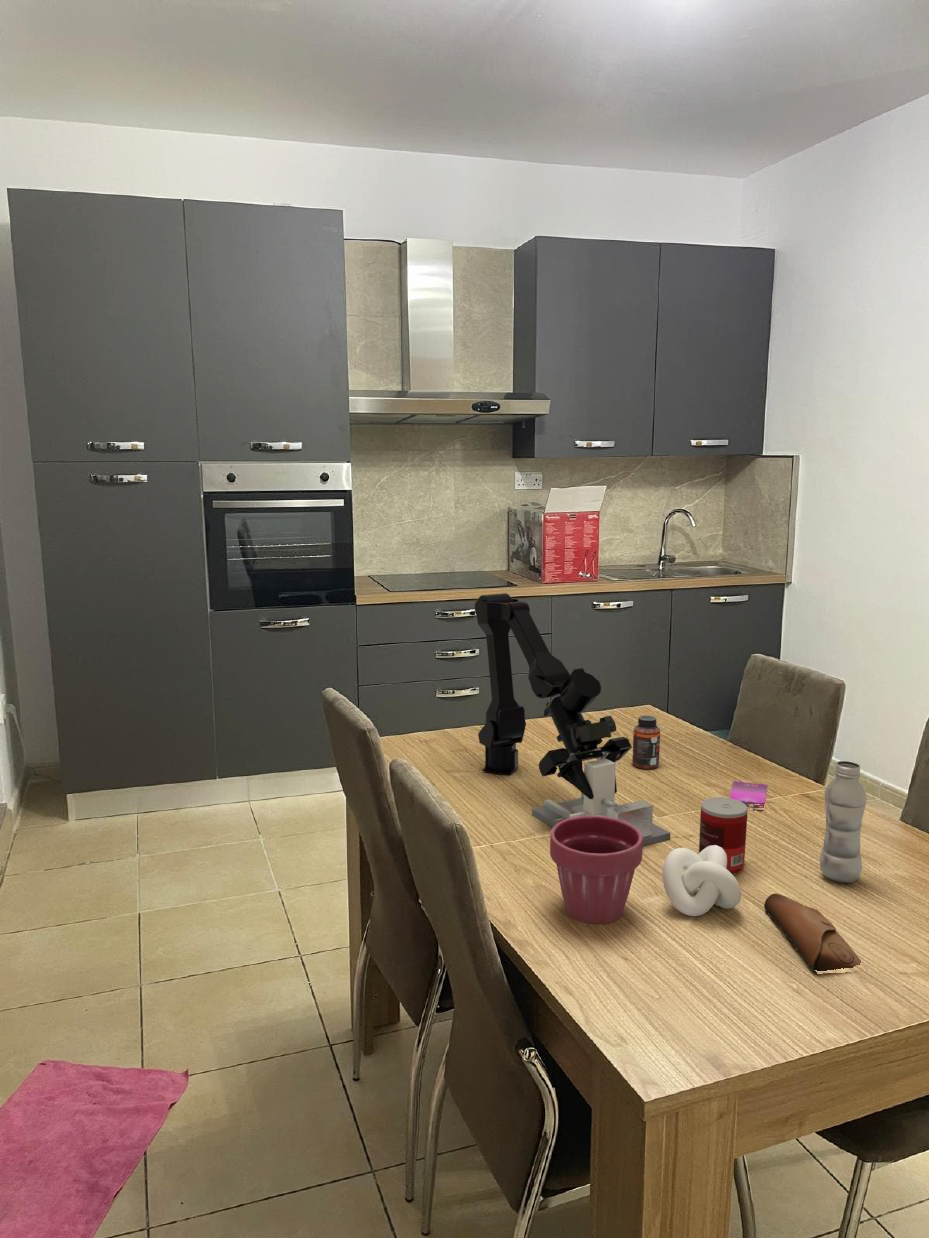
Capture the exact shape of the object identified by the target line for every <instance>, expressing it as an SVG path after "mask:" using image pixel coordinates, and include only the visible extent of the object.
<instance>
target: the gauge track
mask: <svg viewBox="0 0 929 1238" xmlns="http://www.w3.org/2000/svg"><path fill="white" fill-rule="evenodd" d="M580 795H581V796H580V797H579V798H574V799H569V800H565V801H559V802H555V801H553V800H551V799H549V798H548V799H544V801H543V803H544V805H543V806H539V807H535V808H532V809H531V815H532V816H534V817H535V818H537V819H538V820H540V821H541V822H543V823H545V824H546V825H548V826H550V827H551V828H553V827H554V826H555V825H556V824H557V823H559V822H561V821H563V820H566V819H569V818H570V817H569V815H571V814H574V813H572V812H571V807H574V806H578V805H583V804H584V794H583V793H582V792H581V791H580ZM615 804H616V806H618V805H619V804H617V803H615ZM667 839H668V840H671V832H670V831H668V830H666V829H664V828H662V827H661V826H658V825H656V824H655V823H653V822H652V836H651V837H647V838H643V847H644V846H645V845H646V846H650V845H653V844H657V843H660V842H664V841H668V840H667ZM656 842H657V843H656Z"/></svg>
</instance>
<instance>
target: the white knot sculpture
mask: <svg viewBox="0 0 929 1238" xmlns="http://www.w3.org/2000/svg"><path fill="white" fill-rule="evenodd" d="M662 865H663V866H662V883H663V888H664V891H665V894H666V896H667V898H668V900H669V902H670V903H671V905H672V906H673V907H674V908H675V909H676V910H678V912H680V913H681V914H684V915H686V916H688V917H698V916H699V917H700V916H702V915H704V914H706V913H707V912H709V910H711V908H712V907H713V906H714V905H715V906H718V907H719V906H720V907H719V908H722V909H733V908H735V907H737V906H738V905H739V904H740V902H741V899H742V891H741V886H740V884H739V882H738V881H737V879H736V877H735V876H734V874H731V873H730V872H729V871H728V870H727V869H726V868H727V855H726V853H725V851H724V850H723V849H722V848H721V847H719V846H717V845H712V846H708V847H706V848H705V849H703V850H702V851H701V852H700V853H699V852H698V853H696V852H695V851H693V850H691V849H690V848H688V847H677V848H675V849H672V850H671V851H670V852H668V855H667V856H666V858H665V859H664V862H663V864H662ZM683 869H684V871H683Z"/></svg>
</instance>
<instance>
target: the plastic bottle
mask: <svg viewBox="0 0 929 1238" xmlns="http://www.w3.org/2000/svg"><path fill="white" fill-rule="evenodd" d="M834 775H835V777H834V778H833V779H831V781H830V782H829V783H828V784H827V785H826V786H825V787H826V788H825V789H824V806H825V823H826V824H825V832H824V833H825V834H824V839H823V845H822V849H821V852H820V856H819V869H820V870H821V873H822V874H823V876H824V877H826V878H827V879H829V880H831V881H834V882H837V883H844V884H845V883H847V884H848V883H850V882H851V883H854V882H856V881H857V880H858V879H859V878H860V876H861V873H862V870H863V864H862V863H863V862H862V860H863V859H862V854H861V829H862V823H863V818H864V814H865V809H866V804H867V800H868V798H867V793H866V790H865V789H864V787H863V785H862V783H861V782H860V781H859V779H860V778H861V765H860V764H858V762H854V761H849V760H840V761H837V762H836V763H835V770H834Z"/></svg>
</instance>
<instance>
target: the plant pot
mask: <svg viewBox="0 0 929 1238" xmlns="http://www.w3.org/2000/svg"><path fill="white" fill-rule="evenodd" d="M643 847H644V846H643V838H642V834H641V832H640V831H639V830H638V829H637V828H636V827H634V826H633V825H631V824H629V823H627V822H624V821H621V820H618V819H614V818H610V817H604V816H578V817H573V818H569V819H566V820H563V821H561V822H559V823H557V824H556V825H555V826H554V827H551V831H550V837H549V854H550V858H551V859H552V861H553V862H554V863H555V864H556V870H557V874H558V879H559V884H560V885H559V886H560V891H561V894H562V899H563V905H564V909H565V912H566V913H567V915H569V916H570V917H571V918H573V919H574V920H576V921H579V922H582V923H587V924H593V925H601V924H602V925H603V924H610V923H612V922H615V921H618V920H619V919H620V918H621V917H622V915H624V912H625V908H626V904H627V900H628V897H629V893H630V891H631V885H632V882H633V879H634V875H635V871H636V868H639V866H640V864H641V863H642V860H643V852H644V851H643V850H644V849H643Z"/></svg>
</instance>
